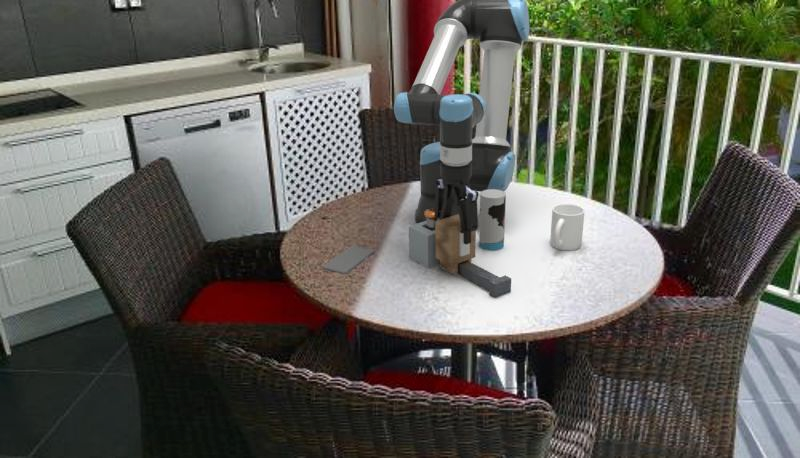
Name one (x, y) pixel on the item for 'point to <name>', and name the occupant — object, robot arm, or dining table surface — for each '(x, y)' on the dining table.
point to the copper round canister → (431, 218)
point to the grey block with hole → (422, 245)
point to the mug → (567, 226)
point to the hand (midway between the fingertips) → (455, 250)
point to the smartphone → (348, 259)
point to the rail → (484, 279)
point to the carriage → (451, 243)
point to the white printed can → (492, 219)
